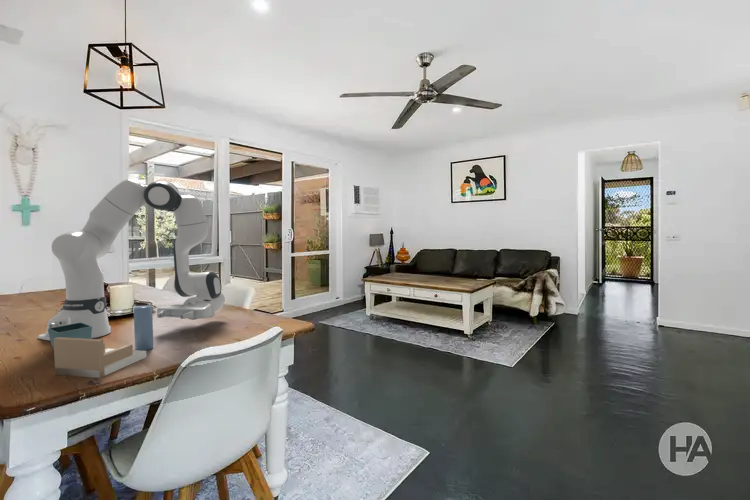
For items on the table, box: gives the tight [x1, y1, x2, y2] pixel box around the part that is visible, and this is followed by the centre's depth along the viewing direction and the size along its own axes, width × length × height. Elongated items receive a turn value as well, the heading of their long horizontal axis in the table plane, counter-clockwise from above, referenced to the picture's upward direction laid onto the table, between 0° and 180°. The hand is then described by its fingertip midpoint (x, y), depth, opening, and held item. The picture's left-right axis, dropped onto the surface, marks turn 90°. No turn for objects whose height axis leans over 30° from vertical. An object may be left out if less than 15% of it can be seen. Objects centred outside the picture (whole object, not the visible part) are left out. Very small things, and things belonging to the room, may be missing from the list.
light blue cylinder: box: [133, 305, 154, 352], centre depth 120 cm, size 5×5×14 cm
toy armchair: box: [53, 337, 147, 379], centre depth 105 cm, size 14×16×10 cm
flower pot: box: [48, 322, 92, 349], centre depth 114 cm, size 9×9×9 cm
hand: (170, 316), depth 132 cm, fingers open, 8 cm apart
